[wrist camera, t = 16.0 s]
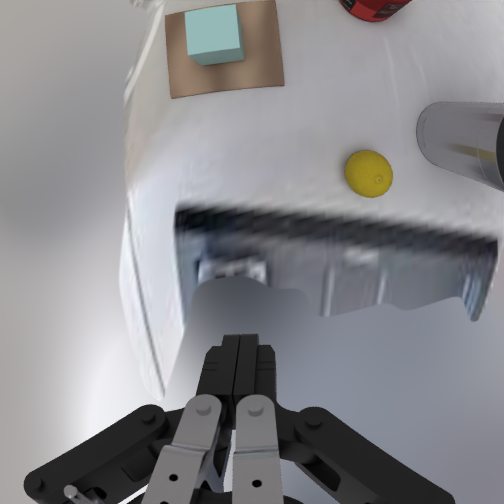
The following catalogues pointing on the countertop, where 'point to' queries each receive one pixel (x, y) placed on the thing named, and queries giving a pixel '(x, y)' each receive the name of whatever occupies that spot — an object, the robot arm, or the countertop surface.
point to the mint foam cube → (214, 35)
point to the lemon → (368, 174)
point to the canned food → (373, 8)
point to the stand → (229, 73)
